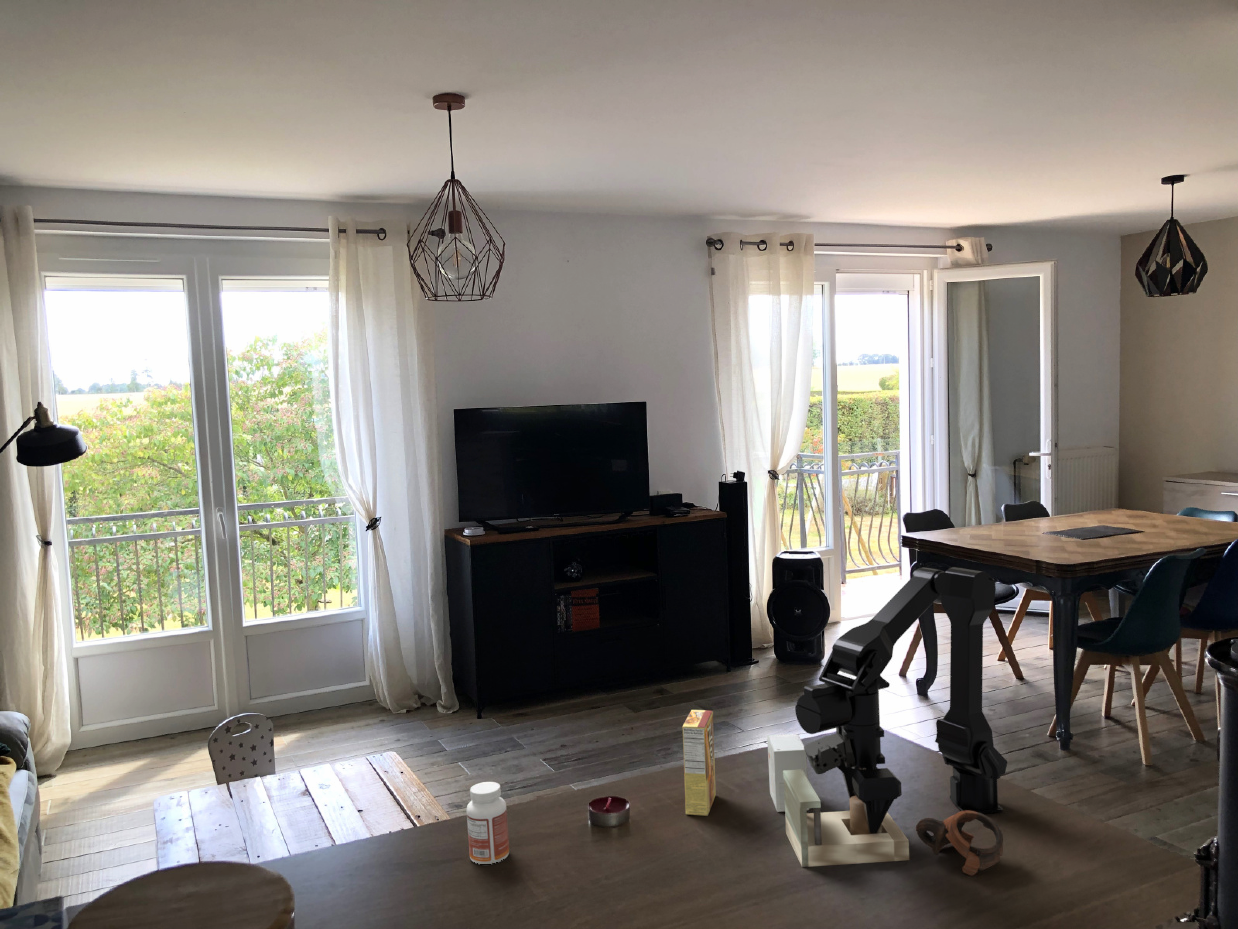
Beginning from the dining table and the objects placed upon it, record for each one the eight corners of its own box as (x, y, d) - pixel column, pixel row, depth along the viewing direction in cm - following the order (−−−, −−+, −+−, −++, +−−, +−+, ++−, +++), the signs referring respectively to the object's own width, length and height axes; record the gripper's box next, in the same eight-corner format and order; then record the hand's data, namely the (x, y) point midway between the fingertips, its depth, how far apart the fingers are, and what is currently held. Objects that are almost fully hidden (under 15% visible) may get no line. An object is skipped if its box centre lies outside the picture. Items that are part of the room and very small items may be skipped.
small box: (809, 811, 155) (807, 750, 154) (776, 813, 155) (773, 751, 154) (801, 792, 163) (798, 733, 162) (769, 793, 163) (767, 734, 162)
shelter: (884, 825, 148) (882, 764, 148) (910, 861, 136) (908, 795, 136) (785, 831, 148) (782, 770, 147) (802, 868, 136) (800, 802, 135)
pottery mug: (988, 846, 141) (1005, 812, 136) (993, 902, 133) (1012, 867, 129) (908, 824, 143) (923, 790, 138) (909, 878, 135) (925, 843, 130)
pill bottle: (504, 844, 148) (500, 776, 148) (513, 861, 142) (509, 790, 142) (466, 852, 146) (461, 783, 145) (473, 870, 140) (469, 798, 140)
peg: (873, 838, 144) (871, 794, 144) (881, 850, 140) (879, 805, 140) (847, 839, 144) (846, 796, 144) (855, 852, 140) (853, 807, 140)
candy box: (693, 793, 164) (689, 709, 163) (717, 795, 163) (713, 709, 162) (684, 815, 156) (680, 726, 155) (709, 817, 154) (705, 727, 154)
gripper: (794, 703, 150) (798, 797, 151) (823, 745, 131) (827, 851, 132) (862, 699, 150) (865, 793, 151) (901, 740, 132) (904, 846, 133)
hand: (863, 819), depth 142 cm, fingers open, 9 cm apart
